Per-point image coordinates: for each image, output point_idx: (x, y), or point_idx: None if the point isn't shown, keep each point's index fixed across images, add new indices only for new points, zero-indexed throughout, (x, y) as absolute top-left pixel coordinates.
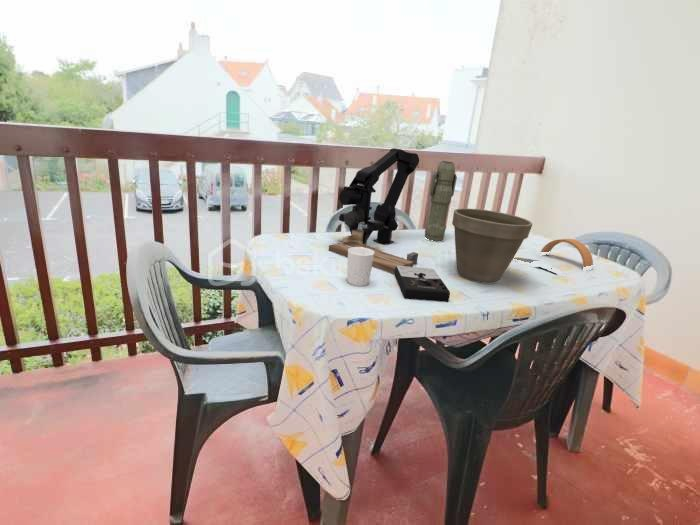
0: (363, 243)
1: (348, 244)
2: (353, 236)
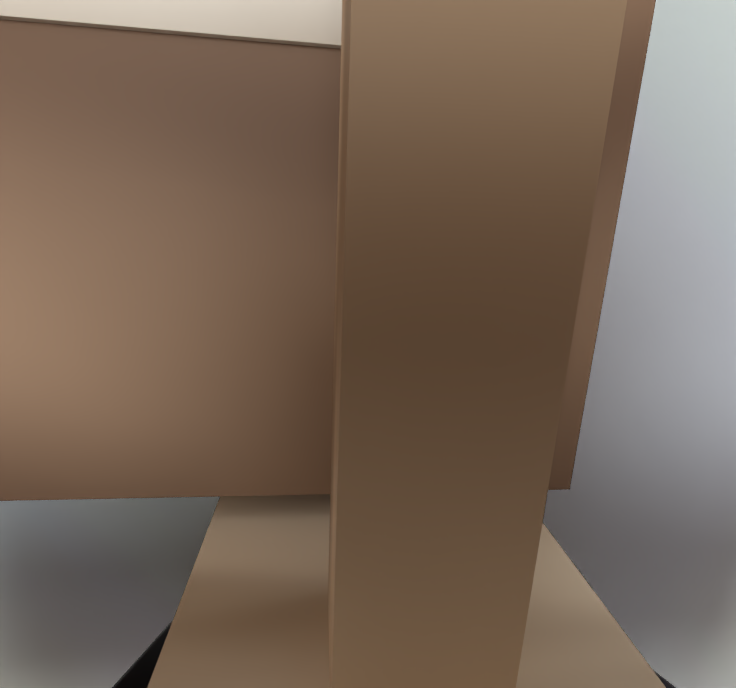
0: None
1: None
2: (359, 464)
